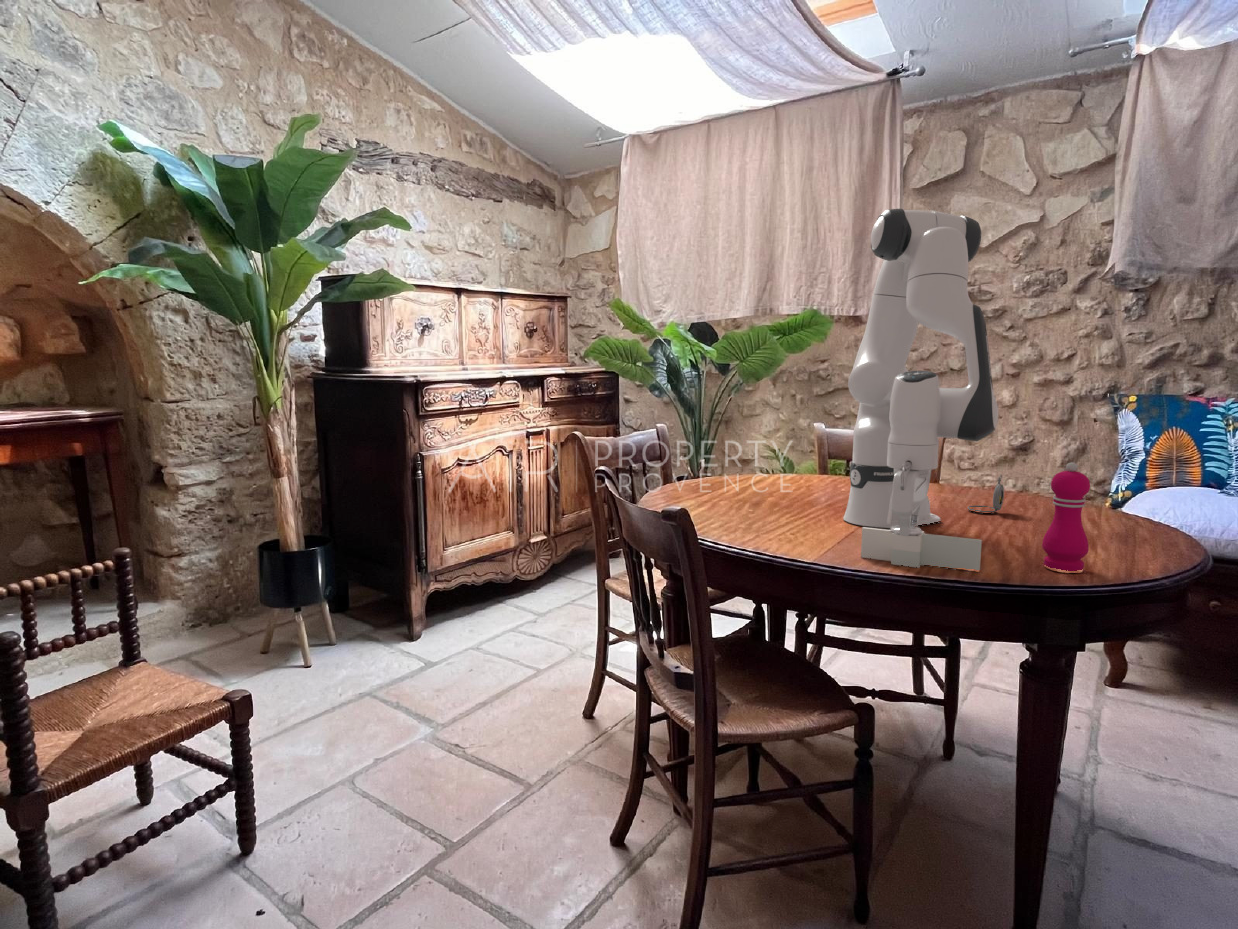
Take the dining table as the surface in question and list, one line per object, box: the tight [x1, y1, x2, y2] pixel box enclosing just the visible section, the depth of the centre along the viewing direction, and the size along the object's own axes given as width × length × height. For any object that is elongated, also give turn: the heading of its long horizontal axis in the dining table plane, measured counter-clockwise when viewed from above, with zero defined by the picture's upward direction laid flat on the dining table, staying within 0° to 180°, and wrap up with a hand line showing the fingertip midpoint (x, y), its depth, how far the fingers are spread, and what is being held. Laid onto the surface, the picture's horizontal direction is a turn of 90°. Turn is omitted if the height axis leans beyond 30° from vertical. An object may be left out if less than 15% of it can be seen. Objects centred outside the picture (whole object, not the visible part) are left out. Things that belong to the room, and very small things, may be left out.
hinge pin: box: [890, 525, 922, 536], centre depth 134 cm, size 5×5×6 cm
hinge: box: [860, 526, 983, 571], centre depth 133 cm, size 21×5×6 cm, turn 59°
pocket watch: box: [967, 474, 1005, 512], centre depth 175 cm, size 8×8×10 cm
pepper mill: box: [1041, 462, 1091, 571], centre depth 128 cm, size 7×7×20 cm
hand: (908, 529), depth 134 cm, fingers open, 8 cm apart
